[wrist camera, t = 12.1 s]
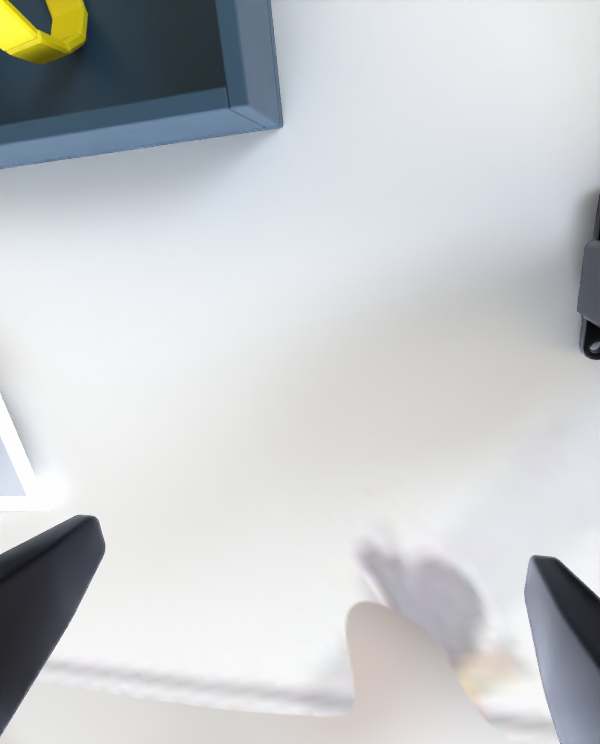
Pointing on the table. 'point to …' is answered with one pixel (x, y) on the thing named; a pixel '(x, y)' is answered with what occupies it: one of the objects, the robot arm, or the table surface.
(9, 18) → the watch
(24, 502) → the touchpad
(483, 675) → the table surface
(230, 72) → the organiser tray
